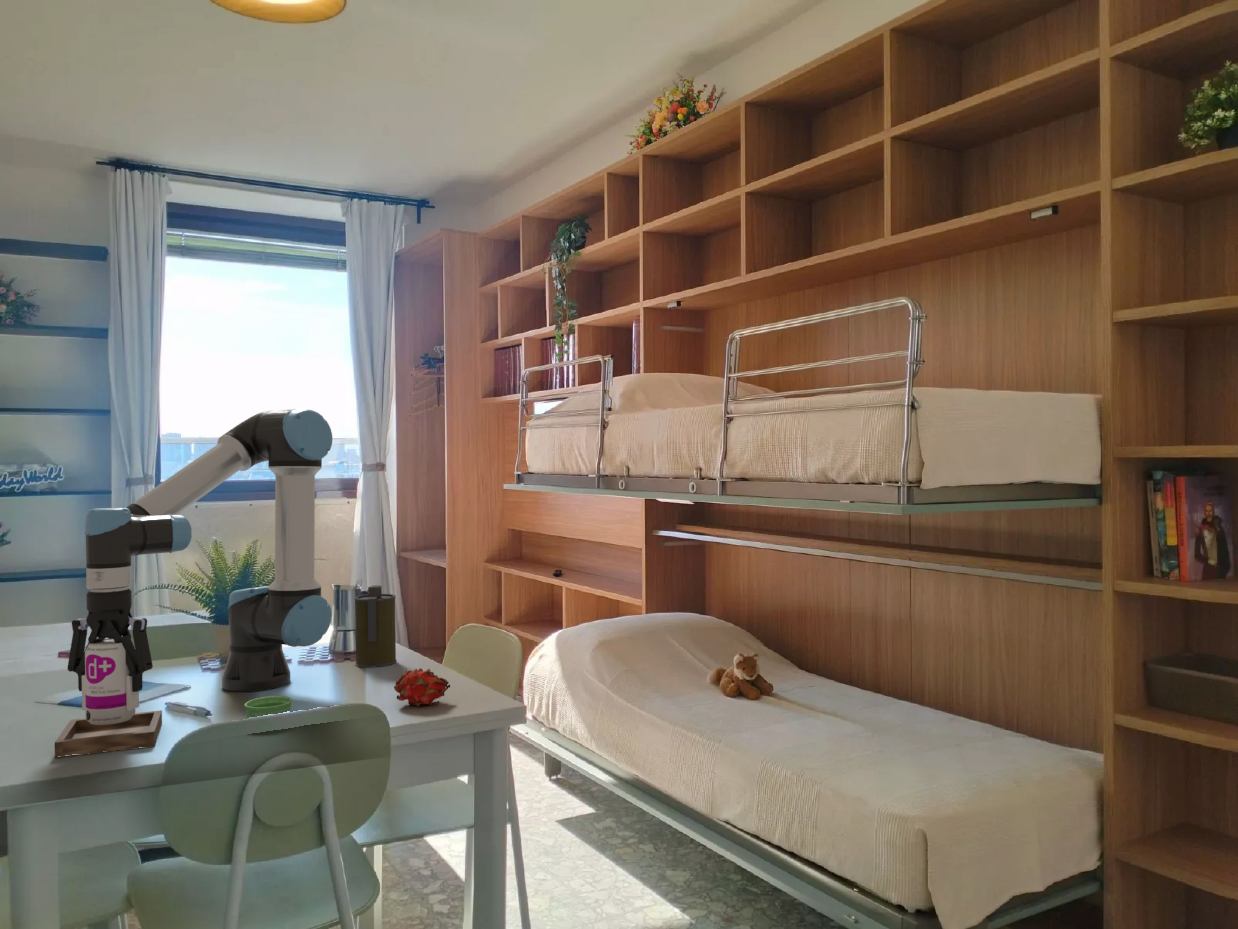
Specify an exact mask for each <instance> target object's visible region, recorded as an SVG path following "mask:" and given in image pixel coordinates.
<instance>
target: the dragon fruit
mask: <svg viewBox="0 0 1238 929" xmlns="http://www.w3.org/2000/svg"><path fill="white" fill-rule="evenodd" d="M449 688H451V684H450V682H449V681H448V680H447V679H445V678H444V677H439V676H438V675H436V674H435V673H434V672H433V671H431V669H430V668H427V669H426V670H424V669H422V668H419V669H418V668H415V669H414V670H411V669H406V672H404V673H401V675H400V677H399V678H397V679H396V680H395V685H394V686H393V689H394V691H395V692H396V693H398V694H397V695H396V699H397V700H398V701H405V700H406V701H407V702H408V703H407V704H408V705H409V706H411V707H412V706H413V705H414V706H416V707H419V706H420V705H429V706H436V705H438V704H439V703H440V700H438V701H434V700H437V699H439V698H441V697H445V692H447V690H448V689H449Z"/></svg>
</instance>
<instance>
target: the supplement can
mask: <svg viewBox="0 0 1238 929" xmlns="http://www.w3.org/2000/svg"><path fill="white" fill-rule="evenodd" d="M86 647H87V646H86ZM85 649H86V648H85ZM84 652H85V695H86V710H85V718H86V720H87V721H88V722H89V723H90V724H93V725H110V724H116V723H121V722H124V721H127V720H129V719H131V718H132V716H133V715H134V714H135V713H136V708H135V709H133V710H130V711H127V704H126V676H128V674H130V672H129V669H128V667H127V665H126V657H125V649H124V647H123V645H122V643H115V642H114V639H109V638H105V639H104V640H103V641H101V642H98V643H94V644H92V643H91V644H90V643H89V645H88V647H87V649H86V651H85V650H84Z"/></svg>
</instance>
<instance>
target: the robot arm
mask: <svg viewBox="0 0 1238 929" xmlns="http://www.w3.org/2000/svg"><path fill="white" fill-rule="evenodd" d="M332 446H333V432H332V429H331V426H330V424H329V423H328V421H327V420H326V419H325V418H324V417H323V415H322V414H320V413H319V412H317V411H316V410H312V409H307V408H306V409H304V408H292V409H281V410H267V411H261V412H259V413H256V414H254V415H252V416H250V417H249V418H246V419H245V420H243V421H242V422H240V423H238V424H237V425H236V426H234V427H233V428H231V429H230V430H227V432H226V433H224V434H222V435H221V436H219V437H218V439H217V444H216V445H214V446H213V447H212V448H210V449H209V450H207V451H206V452H204V453H203V454H201V455H200V456H199V457H197V458H196V459H194V460H193V461H191V462H190V463H188V464H187V465H186V466H184V467H183V468H181V469H180V470H178V471H177V472H175V473H174V474H172V475H171V476H169V477H167V479H165V480H163V481H162V482H161V483H159V484H158V485H157V486H155V487H153V488H152V489H151V490H149V491H147V492H146V493H144V495H142V496H140V497H139V498H138V499H137V500H135V501H132V503H130V504H129V505H127V506H126V507H102V508H101V507H100V508H91V509H90V510H89V511H87V513H86V515H85V516H86V518H85V526H84V527H85V530H84V535H85V563H86V564H85V565H86V566H85V567H86V570H85V571H86V572H85V573H86V574H85V575H86V577H85V578H86V589H88V590H89V591H87V592H86V610H87V611H88V615H87V616H86V617H82V618H77V619H76V618H75V619H74V620H71V628H72V636H71V637H72V638H71V644H70V650H69V657H68V661H67V671H68V672H74V673H76V674H77V681H78V682H77V684H78V685H77V686H78V691H79V692H81V711H86V695H85V651H86V649H87V647H88V645H89V643H90V644H91V643H92V644H94V643H98V642H101V641H103V640H104V639H114V642H115V643H122V645H123V647H124V649H125V657H126V665H127V667H128V669H129V672H130V674H128V676H126V704H127V711H130V710H133V709H135V710H136V709H137V708H139V707H140V691H142V690H143V674H144V672H147V671H149V670H152V669H153V668H154V665H153V660H152V656H151V649H150V644H149V639H148V633H147V626H148V619H147V618H146V617H143V618H142V617H141V618H136V617H133V614H132V613H131V609H132V605H133V604H132V603H133V602H132V601H133V598H132V597H133V596H132V590H131V589H130V588H129V587H130V586H132V583H133V582H132V557H133V556H134V557H135V556H140V555H141V556H142V555H153V554H155V555H156V554H164V553H165V554H166V553H167V554H168V553H169V554H171V553H175V552H181V551H184V550H186V549H187V548H188V547H189V546H190V544H191V540H192V525H191V523H190V521H189V519H187V517H185V516H184V515H181V513H183V511H186V509H187V508H189V507H191V506H192V505H193V504H195V503H196V502H197V501H199V500H200V499H202V498H203V497H205V496H206V495H207V494H209V492H210V493H211V491H213V490H214V489H216V488H217V487H219V485H221V484H223V482H225V481H226V480H228V479H229V478H230V477H232V476H233V475H235V474H236V473H237V472H246V471H247V470H250V469H251V468H252V467H253V466H255V465H258V464H260V463H264V462H267V464H268V469H269V470H270V471H271V472H272V473H273V475H274V476H275V483H274V484H275V492H274V493H275V495H274V497H275V498H274V499H275V500H274V501H275V503H274V504H275V505H274V507H275V510H274V511H275V512H274V513H275V514H274V517H275V518H274V524H275V525H274V526H275V527H274V580H273V581H272V582H271V584H269V585H265V586H257V587H249V588H243V589H241V588H240V589H237V590H234V591H231V593H230V594H229V596H228V606H227V609H228V629H229V630H228V631H229V632H228V635H229V638H228V639H229V640H228V641H229V654H228V655H229V656H228V658H227V661H226V663H225V664H226V665H225V668H224V670H223V674H222V677H221V689H223V690H225V691H229V692H256V691H257V692H258V691H265V690H271V689H276V688H279V687H283V686H285V685H287V683H288V684H289V683H290V682H291V670H290V666H289V665H288V661H287V658H286V656H285V652H284V651H283V645H285V646H289V647H293V648H296V647H302V648H303V647H309V646H312V645H315V644H316V643H318V642H319V641H321V639H322V638H323V637H324V635H326V633H327V632H328V631H329V628H330V626H331V622H332V616H333V614H332V608H331V605H330V603H329V602H328V600H327V599H325V597H322V586H321V585H322V584H320V583H319V582H318V581H317V580H316V578H315V531H316V530H315V527H316V526H315V525H316V524H315V522H316V520H315V516H316V515H315V513H316V512H315V509H316V508H315V505H316V503H315V500H316V499H315V496H316V487H315V486H316V484H315V483H316V481H315V480H316V475H317V474H318V472H320V470H321V469H322V468H323V464H322V462H323V458H324V457H326V456H328V454H329V451H330V452H331V449H332ZM129 627H130V630H132V635H131V633H130V630H129ZM88 628H89V629H90V630H91V631H90V634H89V636H88ZM87 637H88V638H87ZM132 639H133V641H132ZM87 641H88V642H87ZM86 642H87V645H86Z"/></svg>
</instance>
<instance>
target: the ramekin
mask: <svg viewBox="0 0 1238 929" xmlns="http://www.w3.org/2000/svg"><path fill="white" fill-rule="evenodd" d="M292 703H293V700H292V698H291V697H288V696H286V695H285V696H284V695H271V696H263V697H258V698H254V699H250V700H248V701H247V702H245V703H244V709H245V714H246V719H247V718H249V717H257V716H263V715H268V714H278V713H283V712H287V711H290V712H291V708H292Z"/></svg>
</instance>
